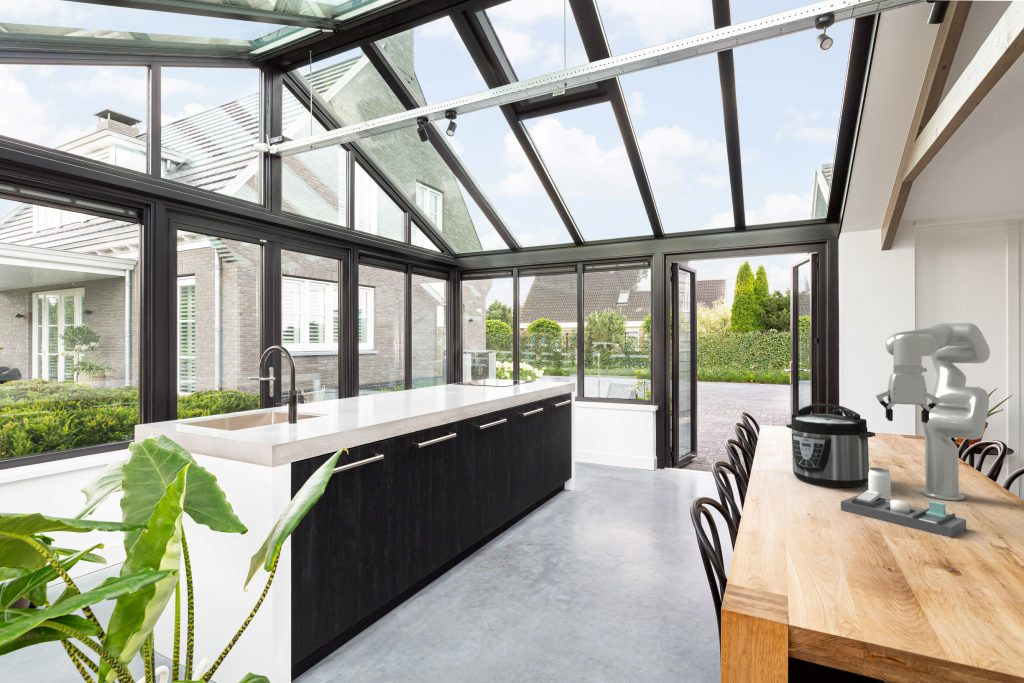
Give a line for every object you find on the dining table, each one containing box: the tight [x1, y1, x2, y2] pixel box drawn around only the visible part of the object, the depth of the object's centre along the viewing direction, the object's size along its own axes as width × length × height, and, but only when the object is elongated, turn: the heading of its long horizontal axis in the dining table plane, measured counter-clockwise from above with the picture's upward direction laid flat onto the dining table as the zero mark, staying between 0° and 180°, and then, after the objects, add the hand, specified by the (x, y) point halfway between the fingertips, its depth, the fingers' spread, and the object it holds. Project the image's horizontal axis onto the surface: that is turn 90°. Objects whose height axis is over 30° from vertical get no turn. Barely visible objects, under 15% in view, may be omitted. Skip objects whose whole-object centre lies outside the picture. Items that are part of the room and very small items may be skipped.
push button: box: [890, 499, 911, 515], centre depth 166 cm, size 5×5×4 cm
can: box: [867, 467, 892, 502], centre depth 183 cm, size 6×6×12 cm
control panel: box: [840, 495, 967, 539], centre depth 166 cm, size 12×30×4 cm, turn 33°
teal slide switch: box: [925, 500, 950, 519], centre depth 160 cm, size 4×5×4 cm
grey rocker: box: [856, 489, 881, 503], centre depth 174 cm, size 8×4×1 cm, turn 123°
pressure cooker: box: [786, 403, 876, 488], centre depth 213 cm, size 30×28×32 cm
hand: (907, 421), depth 173 cm, fingers open, 9 cm apart
